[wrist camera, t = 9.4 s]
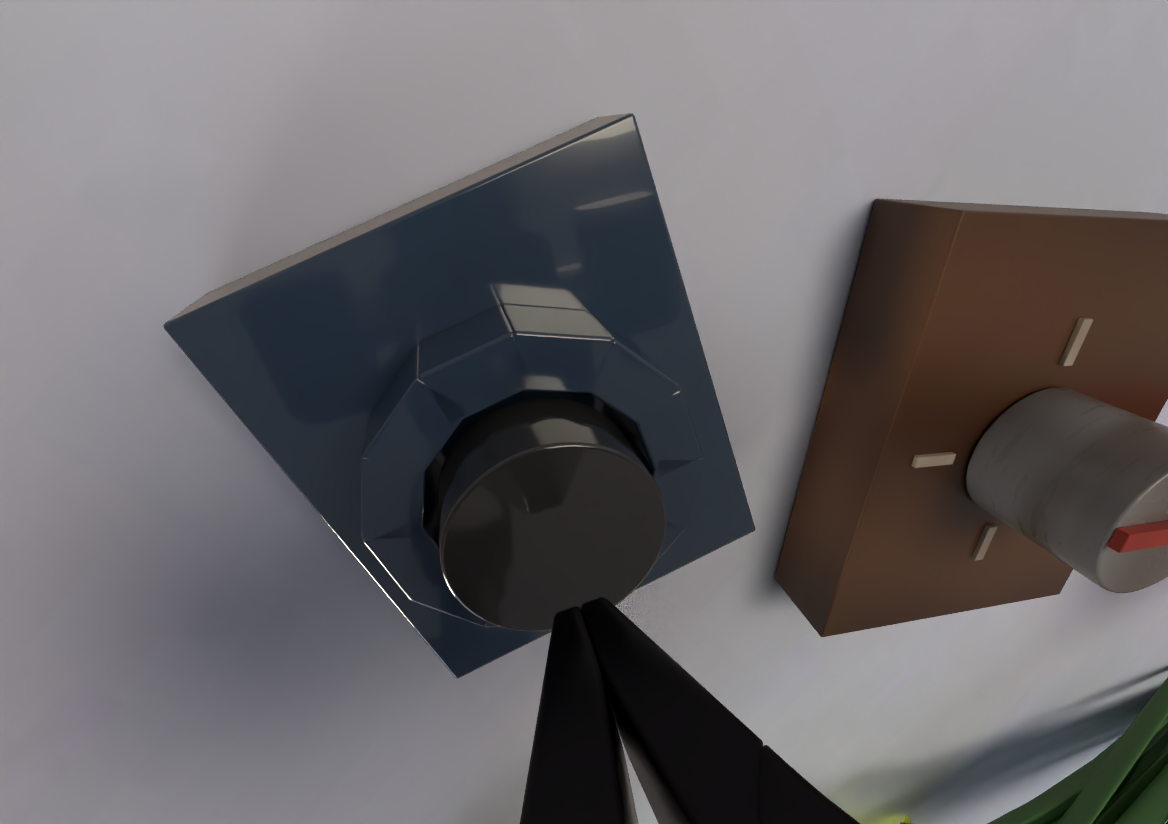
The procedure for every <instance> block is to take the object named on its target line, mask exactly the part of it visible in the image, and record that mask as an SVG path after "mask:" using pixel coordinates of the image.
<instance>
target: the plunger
mask: <svg viewBox="0 0 1168 824" xmlns="http://www.w3.org/2000/svg"><path fill="white" fill-rule="evenodd" d="M437 506H438V531H439V556H440V565H441V570H442V574H443V577H444V579H445V582H446V584H447V586H448V587H449V589H450V591H451V592H452V594H453V595H454V597H455V598H456V599H457V600H458V601H459V602H460V603H461V605H462V606H463V607H465V608H466V609H467V610H468V611H469V612H471V613H472V614H474V615H475V616H477V617H479V618H480V619H482V620H484V621H486V622H489V623H491V624H493V625H496V626H500V627H503V628H507V629H513V630H519V631H547V630H552V627H553V621H554V617H555V614H556V613H557V612H560V611H563V610H565V609H568V608H571V607H574V606H578V607H580V609H581V605H582V604H583V603H585V602H588V601H591V600H594V599H597V598H600V597H604V598H606V599H608V600H609V601H610V602H611V603H612V604H613V605H614V606H615V605H617V604H618V603H620V602H621V601H622V600H623V599H625V598H626V597H627V596H628V595H629V594H631V593H632V592H633V591H634V590H635V589H636V588H637V587H638V586H639V585H640V583H641V582H642V581H643V580H644V578H645V577H646V576H647V575H648V573H649V572H650V570H651V569H652V567H653V565H654V564H655V562H656V560H657V558H658V555H659V553H660V551H661V548H662V545H663V542H664V537H665V531H666V510H665V503H664V500H663V496H662V493H661V491H660V489H659V487H658V485H657V483H656V481H655V480H654V478H653V477H652V475H651V474H650V472H649V471H648V469H647V468H646V466H645V465H644V464H643V462H642V461H641V459H640V458H639V456H638V455H637V453H636V452H635V450H634V449H633V447H632V446H631V444H630V443H629V441H628V440H627V438H626V437H625V436H624V434H623V433H622V431H621V430H620V429H619V427H618V426H617V425H616V424H615V423H614V422H613V421H612V420H611V419H610V418H608V417H607V416H606V415H604V414H603V413H602V412H600V411H598V410H596V409H594V408H592V407H591V406H588V405H585V404H582V403H580V402H576V401H572V400H567V399H559V398H536V399H529V400H523V401H520V402H516V403H512V404H509V405H507V406H504V407H502V408H499V409H497V410H495V411H493V412H492V413H490V414H488V415H486V416H484V417H483V418H482V419H480V420H479V421H477V422H476V423H475V424H473V425H472V426H471V427H470V428H469V429H468V430H467V431H466V432H465V433H464V434H463V435H462V436H461V437H460V438H459V439H458V441H457V442H456V443H455V444H454V446H453V447H452V449H451V450H450V452H449V453H448V455H447V457H446V459H445V461H444V464H443V466H442V468H441V472H440V475H439V479H438V487H437Z"/></svg>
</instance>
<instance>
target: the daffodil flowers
mask: <svg viewBox="0 0 1168 824" xmlns="http://www.w3.org/2000/svg"><path fill="white" fill-rule="evenodd" d="M1167 819H1168V678H1167V679H1166V680H1165V682H1164V683H1163V684H1162V685H1161V687H1160V688H1159V689H1158V690H1157V691H1156V693H1155V694H1154V695H1153V696H1152V698H1151V699H1150V700H1149V701H1148V703H1147V704H1146V705H1145V706H1144V708H1143V709H1142V710H1141V712H1140V713H1139V714H1138V716H1137V717H1136V719H1135V720H1134V721H1133V723H1132V724H1131V725H1130V727H1129V728H1128V729H1127V731H1126V732H1125V733H1124V734H1123V735H1122V736H1121V737H1120V738H1118V739H1117V740H1116V741H1115V742H1114V743H1112V744H1111V745H1110V746H1109V747H1108V748H1106V749H1105V750H1104V751H1103V752H1102V753H1100V754H1099V755H1098V756H1097V757H1095V758H1094V759H1093V760H1092V761H1090V762H1089V763H1087V764H1086V765H1084V766H1083V767H1081V768H1080V769H1078V770H1077V771H1075V772H1074V773H1072V774H1071V775H1069V776H1068V777H1066V778H1065V779H1063V780H1062V781H1060V782H1059V783H1057V784H1056V785H1054V786H1053V787H1051V788H1050V789H1048V790H1047V791H1045V792H1044V793H1042V794H1041V795H1039V796H1037V797H1036V798H1034V799H1033V800H1031V801H1029V802H1028V803H1026V804H1024V805H1022V806H1020V807H1018V808H1016V809H1014V810H1012V811H1010V812H1008V813H1007V814H1005V815H1003V816H1001V817H999V818H997V819H996V820H994V821H992V822H990V823H988V824H1164V823H1165V822H1166V821H1167ZM900 824H911V821H910V818H909V816H906V818H905V823H900ZM1166 824H1168V821H1167V823H1166Z"/></svg>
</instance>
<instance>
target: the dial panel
mask: <svg viewBox="0 0 1168 824" xmlns="http://www.w3.org/2000/svg"><path fill="white" fill-rule="evenodd" d="M1049 388H1067V389H1071V390H1074V391H1076V392H1079V393H1081V394H1084V395H1087V396H1089V397H1092V398H1094V399H1097V400H1099V401H1102V402H1105V403H1107V404H1110V405H1112V406H1115V407H1118V408H1120V409H1123V410H1125V411H1128V412H1130V413H1133V414H1136V415H1138V416H1141V417H1143V418H1146V419H1149V420H1151V421H1154V422H1155V421H1156V419H1157V417H1158V415H1159V413H1160V412H1161V410H1162V408H1163V406H1164V404H1165V403H1166V401H1167V399H1168V214H1159V213H1149V212H1130V211H1110V210H1091V209H1071V208H1051V207H1032V206H1012V205H992V204H973V203H953V202H933V201H914V200H894V199H876V200H875V202H874V206H873V210H872V214H871V217H870V221H869V225H868V229H867V232H866V236H865V240H864V244H863V248H862V251H861V255H860V259H859V263H858V266H857V270H856V274H855V278H854V281H853V285H852V289H851V293H850V296H849V300H848V304H847V308H846V312H845V315H844V319H843V323H842V327H841V330H840V334H839V338H838V342H837V345H836V349H835V353H834V357H833V360H832V364H831V368H830V372H829V375H828V379H827V383H826V387H825V391H824V394H823V398H822V402H821V406H820V409H819V413H818V417H817V421H816V424H815V428H814V432H813V436H812V439H811V443H810V447H809V451H808V454H807V458H806V462H805V466H804V470H803V473H802V477H801V481H800V485H799V488H798V492H797V496H796V500H795V503H794V507H793V511H792V515H791V518H790V522H789V526H788V530H787V533H786V537H785V541H784V545H783V549H782V552H781V556H780V560H779V564H778V567H777V571H776V575H775V580H776V581H777V582H778V584H779V585H780V586H781V587H782V589H783V590H784V591H785V592H786V594H787V595H788V596H789V597H790V599H791V600H792V601H793V602H794V604H795V605H796V606H797V607H798V609H799V610H800V611H801V612H802V614H803V615H804V616H805V617H806V619H807V620H808V621H809V622H810V624H811V625H812V626H813V627H814V629H815V630H816V631H817V632H818V634H819V635H820V636H821V637H826V636H832V635H837V634H843V633H848V632H853V631H859V630H864V629H870V628H875V627H881V626H886V625H892V624H897V623H903V622H908V621H914V620H919V619H925V618H930V617H936V616H941V615H947V614H952V613H958V612H963V611H969V610H974V609H980V608H985V607H991V606H996V605H1002V604H1007V603H1013V602H1018V601H1023V600H1029V599H1034V598H1040V597H1045V596H1051V595H1056V594H1059V593H1060V592H1061V590H1062V588H1063V586H1064V585H1065V583H1066V581H1067V579H1068V577H1069V576H1070V574H1071V572H1072V570H1073V568H1072V567H1070V566H1069V565H1067V564H1066V563H1064V562H1063V561H1061V560H1060V559H1058V558H1056V557H1055V556H1053V555H1052V554H1050V553H1049V552H1047V551H1046V550H1044V549H1043V548H1041V547H1040V546H1038V545H1037V544H1035V543H1034V542H1032V541H1031V540H1029V539H1028V538H1026V537H1025V536H1023V535H1022V534H1020V533H1019V532H1017V531H1016V530H1014V529H1013V528H1011V527H1010V526H1008V525H1007V524H1005V523H1004V522H1002V521H1001V520H999V519H998V518H996V517H994V516H993V515H991V514H990V513H988V512H987V511H985V510H984V509H982V508H981V507H979V506H978V505H977V504H976V503H974V501H973V500H972V499H971V497H970V495H969V493H968V490H967V486H966V475H967V469H968V465H969V462H970V459H971V456H972V454H973V452H974V450H975V448H976V446H977V444H978V442H979V441H980V439H981V438H982V436H983V435H984V433H985V432H986V431H987V430H988V428H989V427H990V426H991V425H992V424H993V422H994V421H995V420H996V419H997V418H998V417H999V416H1000V415H1001V414H1003V413H1004V412H1005V411H1006V410H1007V409H1008V408H1010V407H1011V406H1012V405H1014V404H1015V403H1017V402H1018V401H1020V400H1021V399H1023V398H1025V397H1027V396H1029V395H1031V394H1033V393H1035V392H1038V391H1041V390H1045V389H1049Z"/></svg>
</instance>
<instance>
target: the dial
mask: <svg viewBox="0 0 1168 824" xmlns="http://www.w3.org/2000/svg"><path fill="white" fill-rule="evenodd" d="M966 486H967V490H968V493H969V495H970V497H971V499H972V500H973V501H974V503H976V504H977V505H978V506H979V507H981V508H982V509H984V510H985V511H987V512H988V513H990V514H991V515H993V516H994V517H996V518H998V519H999V520H1001V521H1002V522H1004V523H1005V524H1007V525H1008V526H1010V527H1011V528H1013V529H1014V530H1016V531H1017V532H1019V533H1020V534H1022V535H1023V536H1025V537H1026V538H1028V539H1029V540H1031V541H1032V542H1034V543H1035V544H1037V545H1038V546H1040V547H1041V548H1043V549H1044V550H1046V551H1047V552H1049V553H1050V554H1052V555H1053V556H1055V557H1056V558H1058V559H1060V560H1061V561H1063V562H1064V563H1066V564H1067V565H1069V566H1070V567H1072V568H1073V569H1075V570H1076V571H1078V572H1079V573H1081V574H1082V575H1084V576H1085V577H1087V578H1088V579H1090V580H1091V581H1093V582H1094V583H1096V584H1097V585H1099V586H1100V587H1102V588H1103V589H1106V590H1108V591H1111V592H1115V593H1128V592H1133V591H1137V590H1140V589H1143V588H1146V587H1148V586H1151V585H1153V584H1155V583H1157V582H1159V581H1161V580H1163V579H1164V578H1166V577H1168V427H1167V426H1164V425H1161V424H1159V423H1156V422H1154V421H1151V420H1149V419H1146V418H1143V417H1141V416H1138V415H1136V414H1133V413H1130V412H1128V411H1125V410H1123V409H1120V408H1118V407H1115V406H1112V405H1110V404H1107V403H1105V402H1102V401H1099V400H1097V399H1094V398H1092V397H1089V396H1087V395H1084V394H1081V393H1079V392H1076V391H1074V390H1071V389H1067V388H1049V389H1045V390H1041V391H1038V392H1035V393H1033V394H1031V395H1029V396H1027V397H1025V398H1023V399H1021V400H1020V401H1018V402H1017V403H1015V404H1014V405H1012V406H1011V407H1010V408H1008V409H1007V410H1006V411H1005V412H1004V413H1003V414H1001V415H1000V416H999V417H998V418H997V419H996V420H995V421H994V422H993V424H992V425H991V426H990V427H989V428H988V430H987V431H986V432H985V433H984V435H983V436H982V438H981V439H980V441H979V442H978V444H977V446H976V448H975V450H974V452H973V454H972V456H971V459H970V462H969V465H968V469H967V475H966Z"/></svg>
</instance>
